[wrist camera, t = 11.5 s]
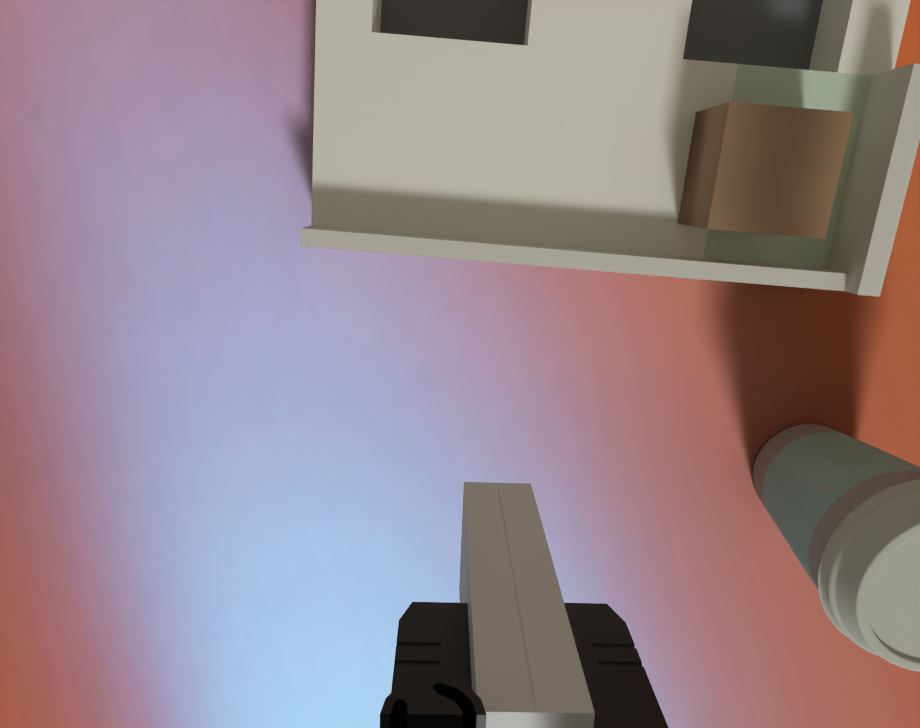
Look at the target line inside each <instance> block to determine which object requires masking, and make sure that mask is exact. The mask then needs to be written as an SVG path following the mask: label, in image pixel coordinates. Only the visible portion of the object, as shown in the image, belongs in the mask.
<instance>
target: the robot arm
mask: <svg viewBox="0 0 920 728" xmlns="http://www.w3.org/2000/svg"><path fill="white" fill-rule="evenodd" d="M459 590H460V603H438V602H412V604H411V605H410V606H409V608H408V609H407V610H406V612H405V613H404V614H403V616H402V617H401V618H400V620H399V626H398V635H397V646H396V654H395V665H394V673H393V682H392V692H391V694H390V695H389V696H388V697H387V698H386V700H385V702H384V705H383V708H382V710H381V713H380V728H668V726H667V723H666V721H665V718H664V716H663V714H662V711H661V709H660V706H659V704H658V701H657V699H656V696H655V694H654V691H653V689H652V686H651V684H650V682H649V679H648V677H647V674H646V672H645V669H644V667H642V662H641V659H640V657H639V654H638V652H637V650H636V648H634V642H633V640H632V637H631V635H630V632H629V630H628V627H627V625H626V623H625V622H624V621H623V620H622V619H621V618H620V617H619V616H618V615H617V614H616V613H615V612H614V611H613V610H612V609H611V608H610V607H609V606H608V605H607V604H590V603H564V601H563V598H562V594H561V590H560V587H559V583H558V580H557V576H556V573H555V569H554V565H553V562H552V558H551V555H550V551H549V547H548V544H547V540H546V537H545V533H544V530H543V526H542V522H541V519H540V515H539V512H538V508H537V505H536V501H535V497H534V494H533V490H532V487H531V484H519V483H479V482H464V493H463V517H462V540H461V564H460V587H459Z"/></svg>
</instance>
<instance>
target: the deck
mask: <svg viewBox="0 0 920 728" xmlns="http://www.w3.org/2000/svg"><path fill="white" fill-rule="evenodd" d="M910 1H911V0H316V32H315V81H314V129H313V177H312V226H308V227H304V228H301V246H306V247H318V248H331V249H343V250H355V251H367V252H379V253H391V254H403V255H415V256H427V257H439V258H451V259H463V260H475V261H487V262H499V263H511V264H523V265H535V266H547V267H559V268H571V269H583V270H595V271H607V272H619V273H631V274H643V275H655V276H667V277H679V278H691V279H703V280H715V281H727V282H739V283H751V284H763V285H775V286H787V287H799V288H811V289H823V290H835V291H846V292H849V293H853V294H856V295H865V296H877V297H880V294H881V290H882V286H883V282H884V278H885V274H886V270H887V266H888V262H889V259H890V255H891V251H892V247H893V243H894V239H895V235H896V231H897V227H898V223H899V219H900V215H901V211H902V207H903V203H904V200H905V196H906V192H907V188H908V184H909V180H910V176H911V172H912V168H913V164H914V160H915V156H916V152H917V148H918V144H919V140H920V64H910V65H907V66H903V67H899V68H896V69H894V68H895V64H896V60H897V55H898V51H899V47H900V43H901V39H902V34H903V30H904V26H905V22H906V17H907V13H908V9H909V5H910ZM727 102H739V103H751V104H763V105H774V106H786V107H797V108H809V109H821V110H832V111H844V112H854V114H853V119H852V123H851V127H850V132H849V136H848V141H847V145H846V149H845V154H844V158H843V163H842V167H841V172H840V176H839V180H838V185H837V189H836V194H835V198H834V203H833V207H832V211H831V216H830V220H829V225H828V229H827V233H826V238H825V239H820V238H808V237H797V236H785V235H773V234H761V233H749V232H737V231H725V230H713V229H704V228H699V227H694V226H688V225H683V224H678V218H679V212H680V206H681V200H682V194H683V188H684V181H685V175H686V169H687V163H688V157H689V151H690V145H691V139H692V133H693V127H694V121H695V115H696V112H699V111H702V110H705V109H708V108H711V107H714V106H718V105H721V104H724V103H727Z"/></svg>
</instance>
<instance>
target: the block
mask: <svg viewBox="0 0 920 728" xmlns="http://www.w3.org/2000/svg"><path fill="white" fill-rule="evenodd" d="M853 114H854V112H844V111H832V110H821V109H809V108H797V107H786V106H774V105H763V104H751V103H739V102H727V103H724V104H721V105H718V106H714V107H711V108H708V109H705V110H702V111H699V112H696V115H695V121H694V127H693V133H692V139H691V145H690V151H689V157H688V163H687V169H686V175H685V181H684V188H683V194H682V200H681V206H680V212H679V218H678V224H683V225H688V226H694V227H699V228H704V229H713V230H725V231H737V232H749V233H761V234H773V235H785V236H797V237H808V238H820V239H825V238H826V233H827V229H828V225H829V220H830V216H831V211H832V207H833V203H834V198H835V194H836V189H837V185H838V180H839V176H840V172H841V167H842V163H843V158H844V154H845V149H846V145H847V141H848V136H849V132H850V127H851V123H852V119H853Z"/></svg>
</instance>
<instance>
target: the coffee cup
mask: <svg viewBox="0 0 920 728" xmlns="http://www.w3.org/2000/svg"><path fill="white" fill-rule="evenodd" d="M753 484H754V488H755V491H756V493H757V495H758V497H759V498H760V500H761V501H762V503H763V505H764V506H765V508H766V509H767V511H768V513H769V514H770V516H771V517H772V519H773V521H774V522H775V524H776V525H777V527H778V528H779V530H780V531H781V533H782V535H783V536H784V538H785V539H786V541H787V542H788V544H789V546H790V547H791V549H792V550H793V552H794V553H795V555H796V556H797V558H798V560H799V561H800V563H801V564H802V566H803V567H804V569H805V571H806V572H807V574H808V575H809V577H810V578H811V580H812V581H813V583H814V585H815V586H816V588H817V589H818V591H819V595H820V600H821V603H822V606H823V608H824V610H825V612H826V614H827V616H828V617H829V619H830V620H831V622H832V623H833V624H834V625H835V627H836V628H837V629H838V630H839V631H840V632H842V633H843V634H844V635H845V636H847V637H848V638H849V639H851V640H852V641H853V642H854V643H855V644H857V645H858V646H859V647H861V648H863V649H864V650H866V651H868V652H870V653H873V654H875V655H877V656H880V657H882V658H883V659H885V660H887V661H888V662H890V663H892V664H894V665H897V666H899V667H902V668H905V669H908V670H913V671H918V672H920V467H918V466H916V465H914V464H911V463H909V462H907V461H905V460H902V459H900V458H898V457H896V456H893V455H891V454H889V453H887V452H884V451H882V450H880V449H878V448H875V447H873V446H871V445H869V444H866V443H864V442H862V441H860V440H857V439H855V438H853V437H850V436H848V435H846V434H843V433H841V432H839V431H837V430H834V429H832V428H830V427H827V426H824V425H819V424H801V425H796V426H793V427H790V428H787V429H785V430H783V431H781V432H780V433H778V434H776V435H775V436H774V437H772V438H771V439H770V440H769V441H768V442H767V443H766V444H765V445H764V447H763V448H762V449H761V451H760V452H759V454H758V456H757V458H756V461H755V464H754V468H753Z"/></svg>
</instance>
